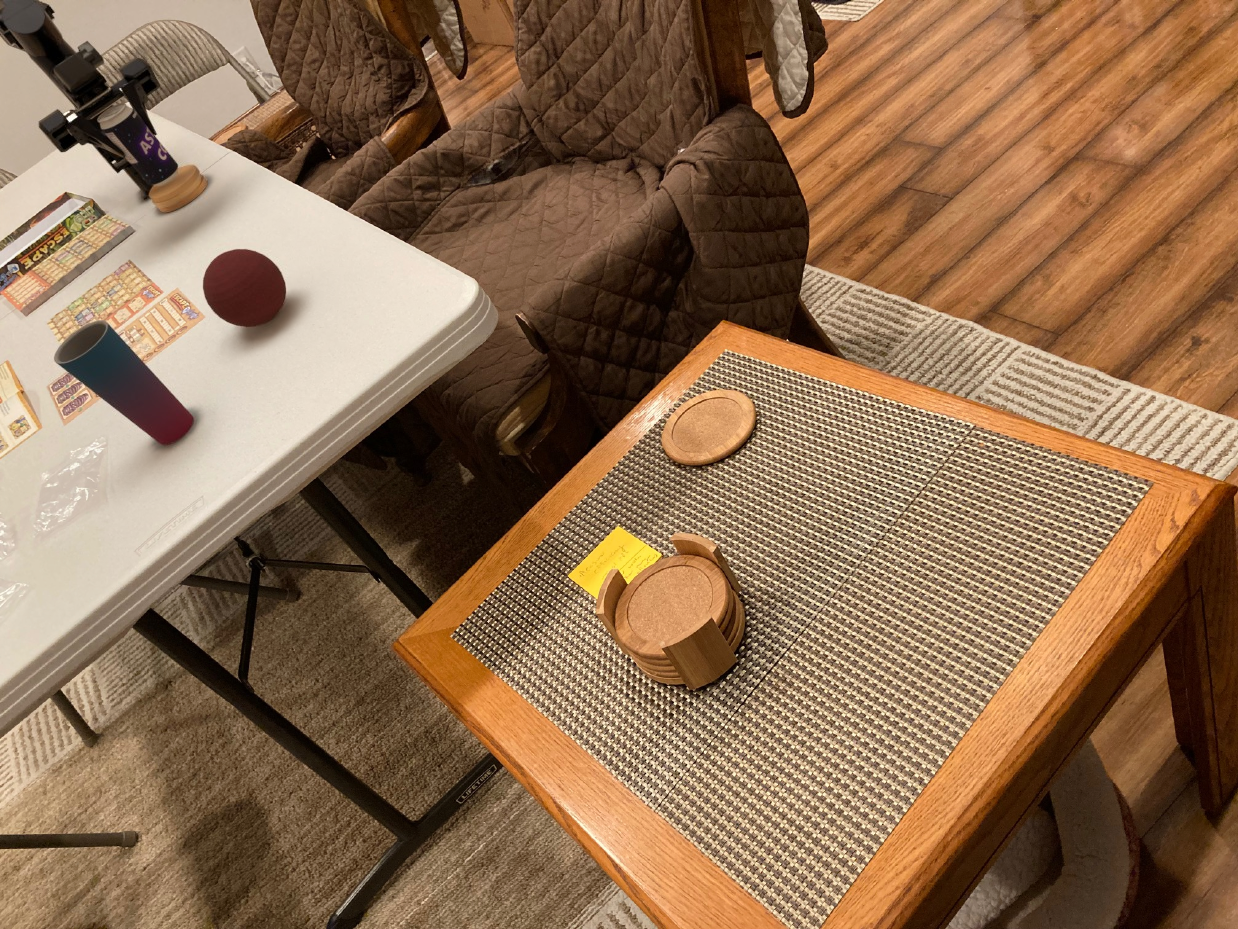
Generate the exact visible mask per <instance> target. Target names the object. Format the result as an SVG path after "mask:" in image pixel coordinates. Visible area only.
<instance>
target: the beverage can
mask: <svg viewBox="0 0 1238 929" xmlns="http://www.w3.org/2000/svg"><path fill="white" fill-rule="evenodd" d="M97 121H98V122H99V123H100V126H101V129H102V131H103V132H104V133H105V134H106V136H107V137H108V138H109V139H110V140H111V141H112V142H113V143H114V144H115V145H116V146H117V147H118V148H119V149H120V150H121V151H122V152H123V153H124V155H125V158H126V159H127V160H128V161H129V162H130V164H131V165H132V166H133V167H134V168H135V169H136V171H137V172H138V173H139V174H140V175H141V176H142V178H143V179H144V180H145V181H146V182H147V184H149V185H155V186H157V187H159V186H163V185H165V184H167V183H169V182H170V181H172V180H173V179H174V178H175V177H176V176H177V174H178V171H177V170H178V168H179V164H178V162H177V161H176V160H175V159H174V157H173V156H172V155H171V154H170V153H169V151H168V150H167V149H166V147H164V145H163V144H162V143H161V141H160V140H159V139H158V138H157V136H155V135H154V134H153V133H152V132H151V130H150V129H149V128H148V127H147V125H146V124H145V123H144V122H143V121H142V119H141V118H140V117H139V116H138V114H137V113H136V112H135V111H134V109H133V108H132V107H131V106H128V105H127V104H126V103H125V102H119V103H117V104H113V105H112V107H111V108H109V109H107V110H106V111H105V112H103V113H102V114H101V115H100V116H99V117H98V119H97Z"/></svg>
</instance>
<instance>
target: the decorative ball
mask: <svg viewBox="0 0 1238 929" xmlns="http://www.w3.org/2000/svg"><path fill="white" fill-rule="evenodd" d="M202 279H203V280H202V290H203V295H204V299H205V301H206V303H207V305H208V307H209V308H210V309H211V310H212V312H213V313H214V314H215V315H216V316H218V317H219V319H221V320H223V321H225V322H227V323H228V324H231V325H233V326H237V327H244V328H251V327H258V326H259V327H260V326H262V325H264V324H266V323H268V322H271V321H272V320H273V319H274V318H276V316H278V314H279V313H280V312H281V311H282V309H283V306H284V304H285V302H286V296H287V286H286V281H285V278H284V276H283V272H282V271H281V270H280V268H279V266H278V265H277V264H276V263H275V262H274V261H273V260H272V259H270V258H269V257H268V256H266V255H265V254H264V253H261V252H258V251H256V250H252V249H247V248H235V249H231V250H227V251H224V252H222V253H220V254H218V255H217V256H216V257H215V258H213V260H212V261H210V263H209V265H208V266H207V268H206V269H205V272H204V275H203V278H202Z"/></svg>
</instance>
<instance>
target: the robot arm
mask: <svg viewBox="0 0 1238 929" xmlns="http://www.w3.org/2000/svg"><path fill="white" fill-rule="evenodd" d="M55 13H56V11H55V10H54V9H53V8H52V7H51V5H50V4H48V3H46V2H43V1H40V0H0V38H1V39H2V40H3V42H4V43H5V44H6V45H7V46H9V47H12V48H14V49H17V50H19V51H22V52H24V53H26V54H27V56H28V57H29V58H30V59H31V61H33V62H34V63H35V65H36V66H37V67H38V68H39V69H40V70H41V71H42V72H43V73H44V74H45V75H46V77H47V78H48V79H49V80H50V81H51V82H52V84H54V85H55V87H56V88H57V89H58V91H60V93H62V94H63V96H64V97H65V98H66V99H67V100H68V101H69V102H70V104H71V105H72V106H73V107H74V108H75V109H69V110H67V111H66V112H64V113H63V112H62V111H61V110H60V109H58V108H57V109H55V110H54V111H52V112H51V113H49V114H47V115H46V116H45V117H43V118H42V119H40V120H38V129H39V130H40V131H41V132H42V133H43V134H44V136H45V137H46V138H47V140H48V141H49V142H50V143H51V144H52V145H53V146H54V147H55V149H57V150H58V151H59V152H60V153H66V152H68V151H69V150H71V149H73V147H75V146H76V145H79V146H85V145H87V144H89V145H92V147H93V148H94V149H95V150H96V151H97V153H98V154H99V155H100V156H101V157H102V158H103V160H104V161H105V162H106V163H107V164H108V166H110V168H111V169H112V170H113V171H114V172H116V173H117V174H120V173H121V171H124V172H125V173H126V175H127V176H128V177H129V178H130V179H131V181H132V182H133V183H134V184H135V186H137V187H138V188H139V192H140V195H141V198H142V199H143V200H147V199H149V198H150V197H149V192H150V190H151V189H152V187H153V186H154V185H149V184H147V182H146V181H145V180H144V179H143V178H142V176H141V175H140V174H139V173H138V172H137V171H136V169H135V168H134V167H133V166H132V165H131V164H130V162H129V161H128V160H127V159H126V158H125V155H124V153H123V152H122V151H121V150H120V149H119V148H118V147H117V146H116V145H115V144H114V143H113V142H112V141H111V140H110V139H109V138H108V137H107V136H106V134H105V133H104V132H103V131H102V129H101V126H100V123H99V122H98V121H97V119H98V117H99V116H100V115H101V114H102V113H103V112H105V111H106V110H107V109H109V108H111V107H112V106H114V105H115V104H116V103H117V102H119V101H120V100H122V99H123V98H124V99H126V100H127V102H128V103H129V105H130V108H132V109H134V111H135V112H136V113H137V114H138V116H139V117H140V118H141V119H142V121H143V122H144V123H145V124H146V125H147V127H148V128H149V129H150V130H151V132H152V133H153V134H154V135H155V137H157V135H158V133H157V131H156V129H155V127H154V125H153V123H152V121H151V119H150V117H149V114H148V110H147V107H146V104H147V103H148V102H149V96H150V95H151V94H153V93H155V92H156V91H158V90H159V88H160V86H161V84H160V82H159V80H158V79H157V76H156V74H155V72H154V70H153V69H152V67H151V65H150V64H149V63H148V62H147V61H146V60H145V59H144V58H141V57H138V56H135V57H134V58H132V59H131V60H128V61H127V62H125V63H124V64H123V65H121V66H120V67H118V68H117V70H118V72H119V73H120V75H121V77H122V78H121V79H120V80H119V81H117V82H116V83H114V84H112V85H111V86H109V85H108V84H107V82H108V81H107V79H106V77H105V76H104V75H103V74H102V73H101V72H100V71H99V70H98V68H100V67H101V66H102V65H104V64H105V59H104V57H103V56H102V54H100V52H99V51H98V49H96V48H95V47H94V46H93V45H92V43H91V42H90V41H88V40H86V41H84V42H83V43H81V44H80V45H79V46H77V49H78V51H76V50H75V49H74V48H73V47H72V46H71V45H70V44H69V43H68V42H67V41H66V40H65V38H63V34H62V33H61V31H60V30H59V28H58V27H57V25H56V23H54V21H55V16H54V14H55ZM114 161H115V162H114Z"/></svg>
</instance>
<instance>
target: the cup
mask: <svg viewBox="0 0 1238 929" xmlns="http://www.w3.org/2000/svg"><path fill="white" fill-rule="evenodd" d="M53 361H54V362H55V363H56V364H57V365H58V367H60V368H62V369H63V370H64V371H65V372H67V373H68V374H70V376H72V377H74V378H75V379H76V380H77V381H78V382H79V383H80V384H82V385H84V386H85V387H86V388H87V389H89V390H90V391H92V392H93V393H94V394H95V395H97V396H98V397H99V398H100V399H102V400H103V401H104V402H106V403H107V404H108V405H109V406H111V407H112V408H113V409H115V410H116V411H117V412H119V413H120V414H121V415H122V416H124V417H125V418H126V419H127V420H129V421H130V422H131V423H133V424H134V425H135V426H136V427H137V428H139V429H140V430H141V431H143V432H144V433H145V434H147V435H148V436H149V437H150V438H152V439H154V441H156V442H157V443H158V444H159V445H162V446H166V445H167V446H168V445H171V444H173V443H175V442H178V441H179V440H181V439H182V438H183V437H184V436H185V435H186V434H187V433H188V432H189V431H190V429H191V428H192V427H193V424H194V421H195V418H194V416H193V414H192V413H191V412H190V411H189V410H188V409H187V408H186V406H184V404H183V403H181V401H180V400H179V399H178V398H177V397H176V396H175V395H174V394H173V393H172V392H171V390H170V389H169V388H168V387H167V386H166V385H165V384H164V383H163V382H162V380H160V378H159V377H158V376H157V375H156V374H155V373H154V372H153V370H151V368H150V367H149V366H148V365H147V364H146V363H145V362H144V360H142V359H141V357H139V355H138V354H137V353H136V352H135V350H133V349H132V348H131V347H130V346H129V344H128V343H127V342H126V341H125V340H124V339H123V338H122V337H121V336H120V335H119V334H118V332H117V331H116V330H115V329H114V328H113V327H112V326H111V324H109V323H108V322H107V321H106V320H102V319H101V320H100V319H99V320H95V321H92V322H89V323H86V324H85V325H83V326H82V327H80V328H78V329H77V330H75V331H74V332H73V333H71V334H70V335H69V336H68V337H67V338H65V340H63V341H62V343H61V344H60V345H59V346H58V347H57V349H56V351H55V353H54V356H53Z"/></svg>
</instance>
